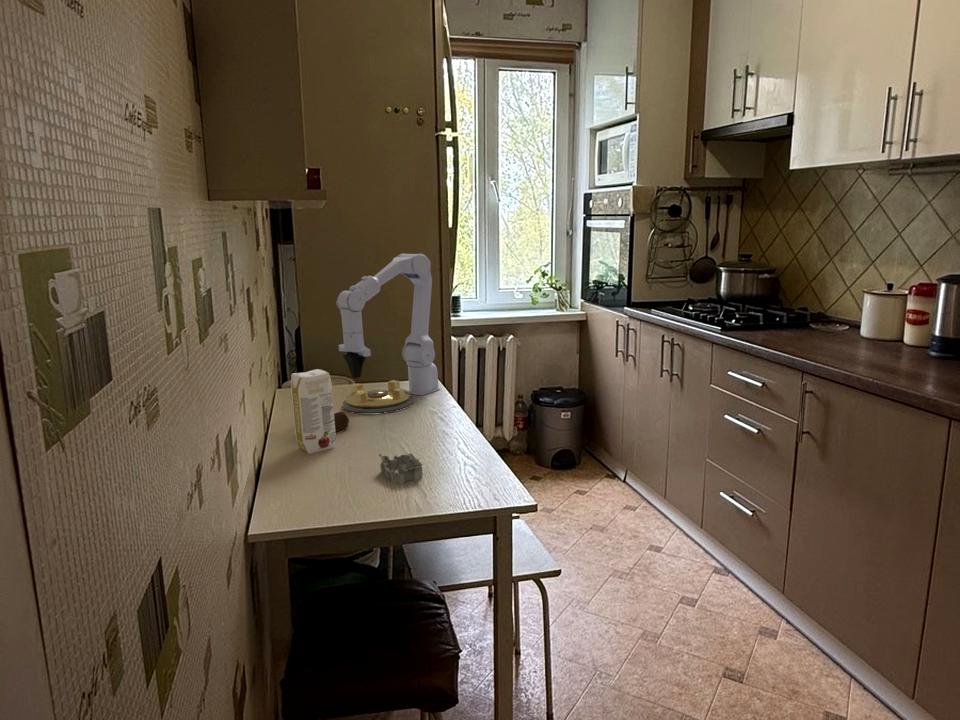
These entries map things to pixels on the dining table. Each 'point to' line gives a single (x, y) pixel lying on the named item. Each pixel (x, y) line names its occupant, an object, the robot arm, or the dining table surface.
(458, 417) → the dining table surface
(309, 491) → the dining table surface
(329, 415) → the juice carton
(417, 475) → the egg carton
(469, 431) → the dining table surface
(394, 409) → the grey plate
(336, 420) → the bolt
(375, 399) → the round tray
